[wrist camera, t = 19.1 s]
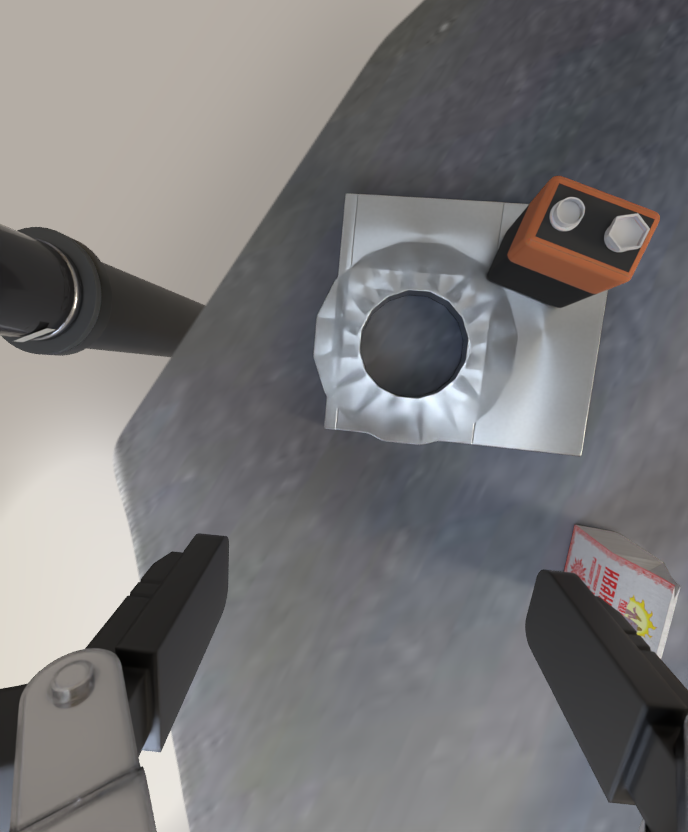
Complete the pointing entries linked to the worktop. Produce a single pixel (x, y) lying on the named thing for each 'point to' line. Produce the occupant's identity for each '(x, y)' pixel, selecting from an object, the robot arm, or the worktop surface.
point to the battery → (572, 244)
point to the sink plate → (479, 324)
